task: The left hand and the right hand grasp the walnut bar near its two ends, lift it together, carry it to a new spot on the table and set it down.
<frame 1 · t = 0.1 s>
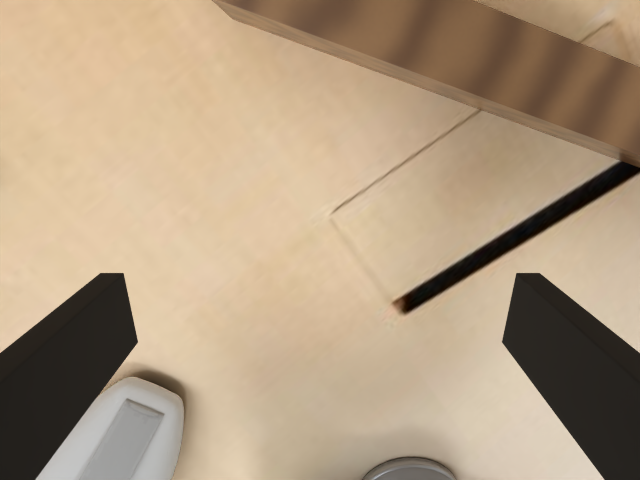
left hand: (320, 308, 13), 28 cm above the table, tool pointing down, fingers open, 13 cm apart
projector: (128, 432, 52), on the table
bar: (556, 103, 37), on the table
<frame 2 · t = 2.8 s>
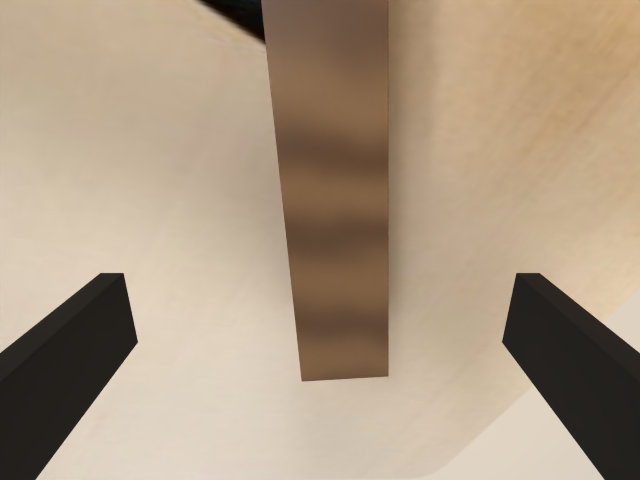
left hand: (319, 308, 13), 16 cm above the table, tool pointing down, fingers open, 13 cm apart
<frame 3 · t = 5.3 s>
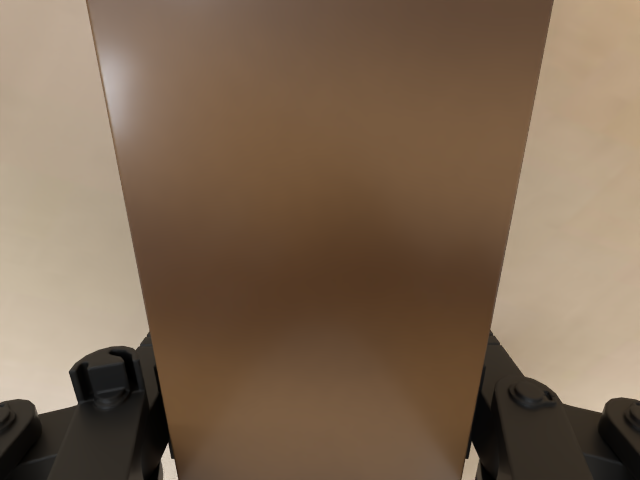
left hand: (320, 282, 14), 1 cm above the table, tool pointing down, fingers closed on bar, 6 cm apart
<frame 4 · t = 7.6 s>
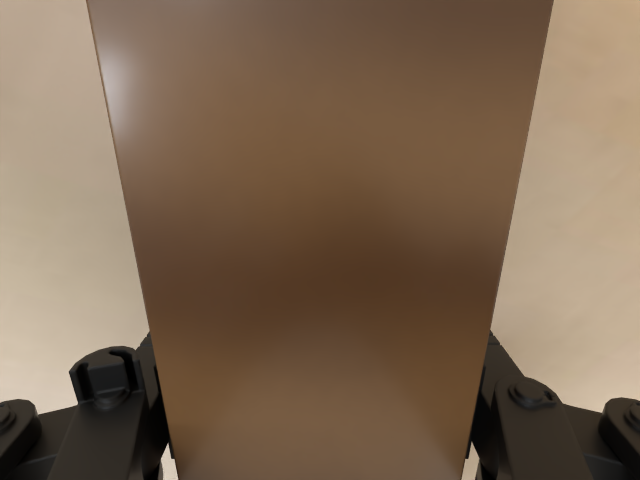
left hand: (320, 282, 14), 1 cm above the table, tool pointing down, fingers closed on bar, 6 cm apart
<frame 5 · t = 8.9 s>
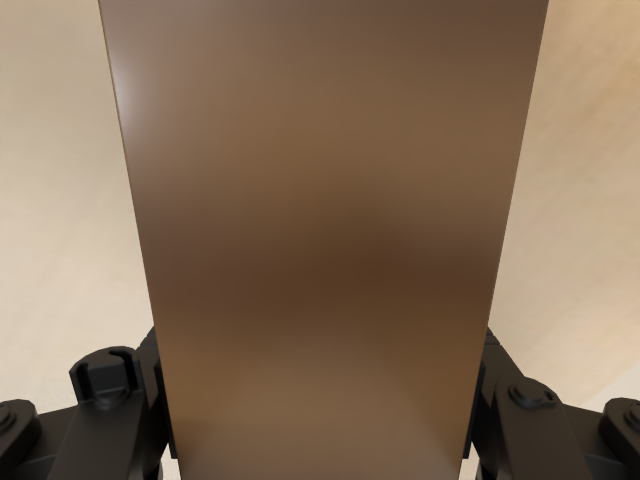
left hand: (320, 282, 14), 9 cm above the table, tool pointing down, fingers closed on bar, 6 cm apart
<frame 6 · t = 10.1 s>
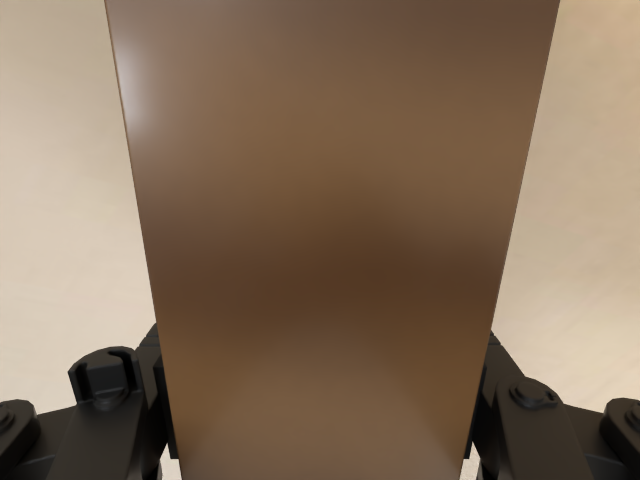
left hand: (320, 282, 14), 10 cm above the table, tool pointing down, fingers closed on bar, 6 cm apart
when the left hand's fingers open (2 cm above the table, at t = 12.3 s): bar drops 2 cm, on the table.
when the right hand's fingers open (5 cm above the table, at t = 12.5 s): bar stays where it is, on the table.
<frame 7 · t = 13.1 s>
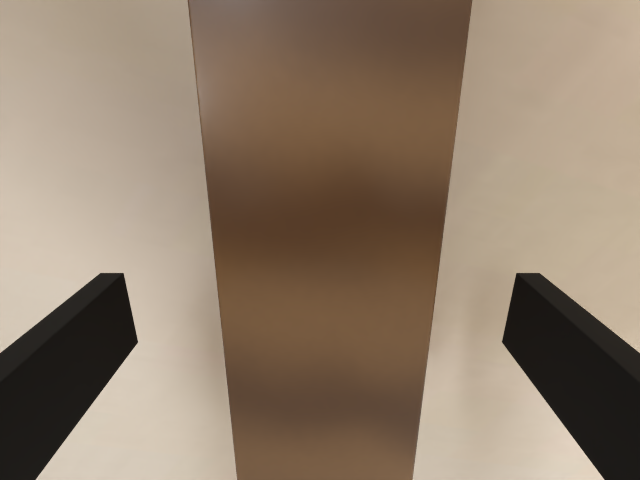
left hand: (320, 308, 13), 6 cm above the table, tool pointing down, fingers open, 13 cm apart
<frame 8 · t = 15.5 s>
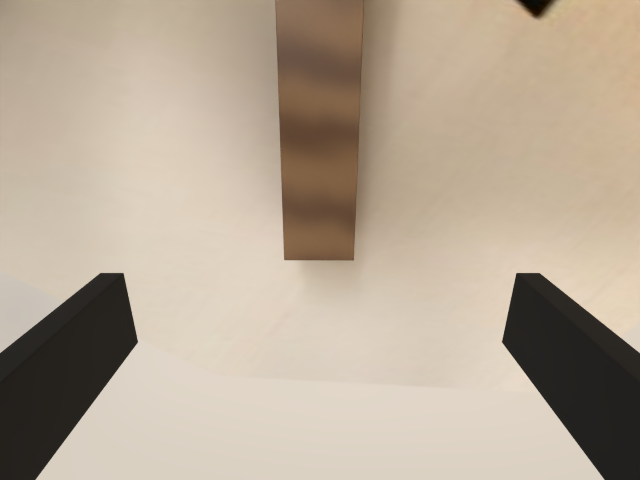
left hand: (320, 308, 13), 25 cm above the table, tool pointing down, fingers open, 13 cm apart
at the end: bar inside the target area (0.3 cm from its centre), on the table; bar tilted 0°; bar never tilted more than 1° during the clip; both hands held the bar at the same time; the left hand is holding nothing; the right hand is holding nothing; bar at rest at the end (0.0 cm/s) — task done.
